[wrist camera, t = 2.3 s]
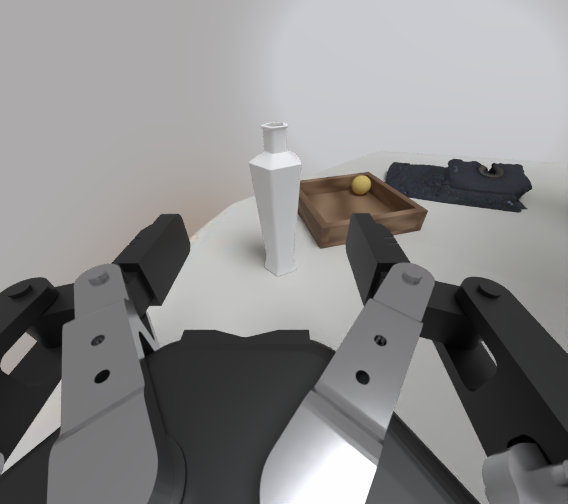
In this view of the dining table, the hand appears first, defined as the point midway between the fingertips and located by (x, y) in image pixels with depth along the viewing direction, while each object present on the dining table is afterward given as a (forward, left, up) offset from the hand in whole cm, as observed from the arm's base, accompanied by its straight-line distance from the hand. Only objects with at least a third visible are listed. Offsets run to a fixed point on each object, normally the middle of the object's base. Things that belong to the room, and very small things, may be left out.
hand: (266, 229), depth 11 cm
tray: (-16, -20, -12) cm, 29 cm away
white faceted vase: (-3, -11, -13) cm, 17 cm away
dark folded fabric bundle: (-39, -24, -13) cm, 47 cm away
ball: (-21, -24, -12) cm, 34 cm away
